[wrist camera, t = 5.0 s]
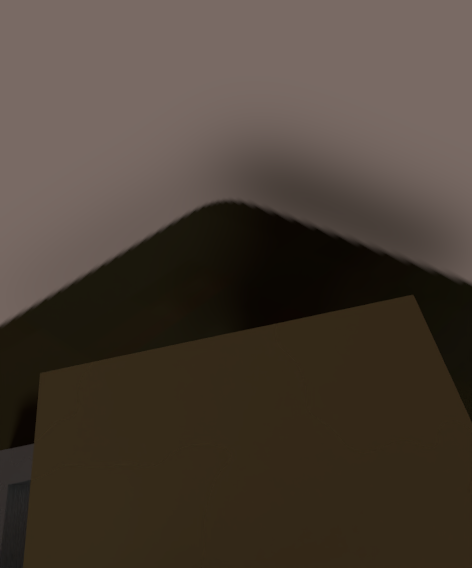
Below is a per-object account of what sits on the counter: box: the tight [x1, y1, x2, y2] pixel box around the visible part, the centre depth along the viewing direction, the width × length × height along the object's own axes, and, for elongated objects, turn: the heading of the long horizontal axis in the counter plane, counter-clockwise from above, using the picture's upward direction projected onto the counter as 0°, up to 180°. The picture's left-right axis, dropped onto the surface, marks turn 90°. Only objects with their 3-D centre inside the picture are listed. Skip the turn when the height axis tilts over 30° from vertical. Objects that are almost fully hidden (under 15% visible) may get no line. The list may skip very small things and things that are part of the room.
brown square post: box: [23, 295, 472, 568], centre depth 9 cm, size 5×5×11 cm
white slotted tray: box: [0, 444, 34, 568], centre depth 16 cm, size 20×9×3 cm, turn 100°
